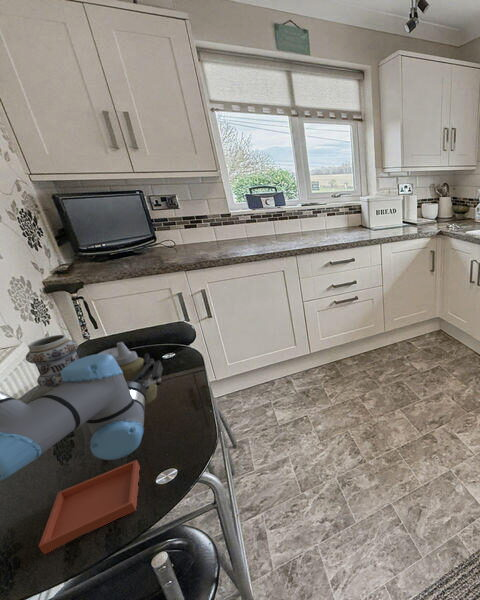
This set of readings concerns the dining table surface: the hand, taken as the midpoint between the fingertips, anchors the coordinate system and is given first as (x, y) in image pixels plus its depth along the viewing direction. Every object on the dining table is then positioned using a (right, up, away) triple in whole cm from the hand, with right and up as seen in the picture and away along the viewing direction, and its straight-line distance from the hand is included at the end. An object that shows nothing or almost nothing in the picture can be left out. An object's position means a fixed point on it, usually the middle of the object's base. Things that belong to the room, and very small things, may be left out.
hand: (132, 361), depth 91 cm
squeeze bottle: (+4, -11, 0) cm, 11 cm away
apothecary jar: (-35, -12, +18) cm, 42 cm away
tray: (+13, -24, -25) cm, 37 cm away
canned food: (-20, -10, +20) cm, 30 cm away
